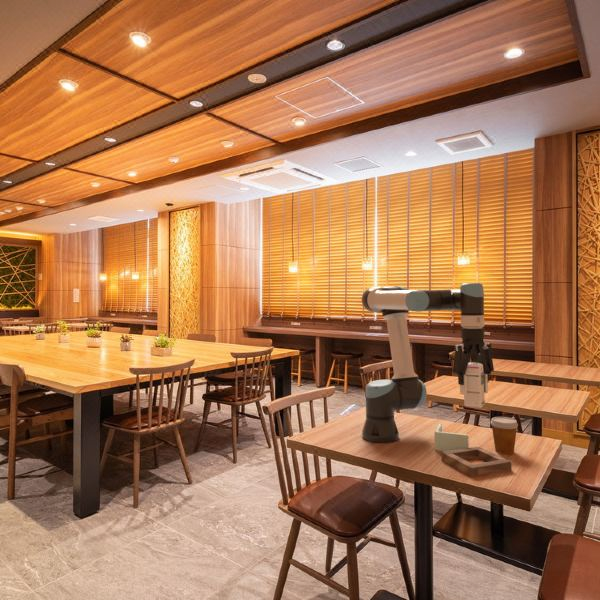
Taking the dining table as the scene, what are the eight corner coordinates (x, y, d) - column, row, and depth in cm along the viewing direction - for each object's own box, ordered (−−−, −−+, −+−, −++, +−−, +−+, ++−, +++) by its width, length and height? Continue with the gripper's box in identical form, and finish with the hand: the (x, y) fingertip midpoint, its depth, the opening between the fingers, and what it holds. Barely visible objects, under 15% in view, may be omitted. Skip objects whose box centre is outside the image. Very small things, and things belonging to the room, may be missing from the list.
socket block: (441, 460, 158) (441, 451, 158) (478, 454, 163) (478, 446, 163) (472, 477, 142) (471, 468, 142) (511, 470, 147) (511, 461, 147)
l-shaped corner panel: (468, 455, 163) (468, 435, 163) (435, 451, 169) (434, 431, 168) (470, 445, 174) (470, 426, 174) (439, 441, 179) (439, 423, 179)
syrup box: (481, 408, 148) (481, 365, 148) (463, 406, 151) (462, 364, 151) (484, 404, 153) (484, 362, 153) (467, 402, 156) (466, 361, 156)
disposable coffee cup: (519, 449, 167) (519, 418, 167) (517, 458, 158) (517, 424, 158) (492, 445, 171) (491, 415, 171) (489, 453, 163) (488, 421, 163)
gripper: (454, 329, 145) (455, 398, 146) (504, 327, 152) (506, 392, 152) (440, 328, 153) (441, 393, 153) (489, 325, 159) (490, 388, 159)
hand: (473, 393), depth 152 cm, fingers closed on syrup box, 8 cm apart
